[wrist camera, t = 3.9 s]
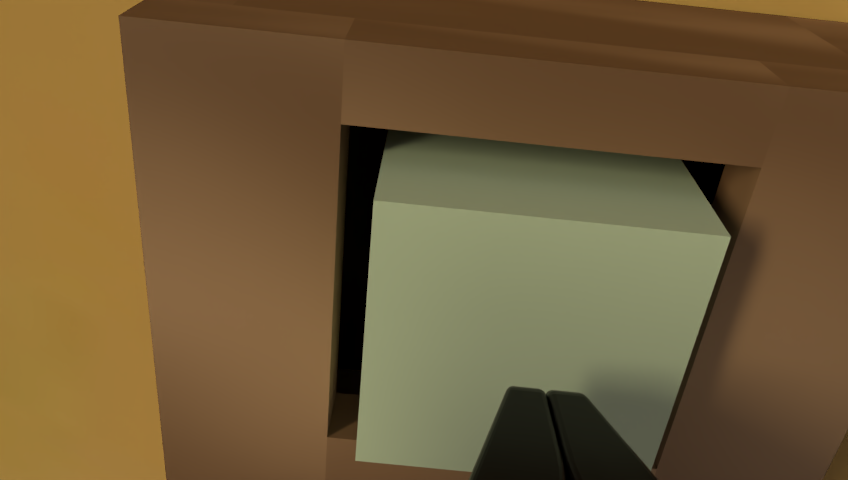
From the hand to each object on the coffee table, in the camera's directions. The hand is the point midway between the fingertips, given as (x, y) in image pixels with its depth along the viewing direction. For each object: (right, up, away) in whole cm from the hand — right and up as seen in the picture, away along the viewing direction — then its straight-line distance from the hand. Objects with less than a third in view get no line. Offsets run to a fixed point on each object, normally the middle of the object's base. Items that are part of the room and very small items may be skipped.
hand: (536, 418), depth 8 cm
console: (0, -1, +8) cm, 8 cm away
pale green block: (0, +2, +4) cm, 4 cm away
